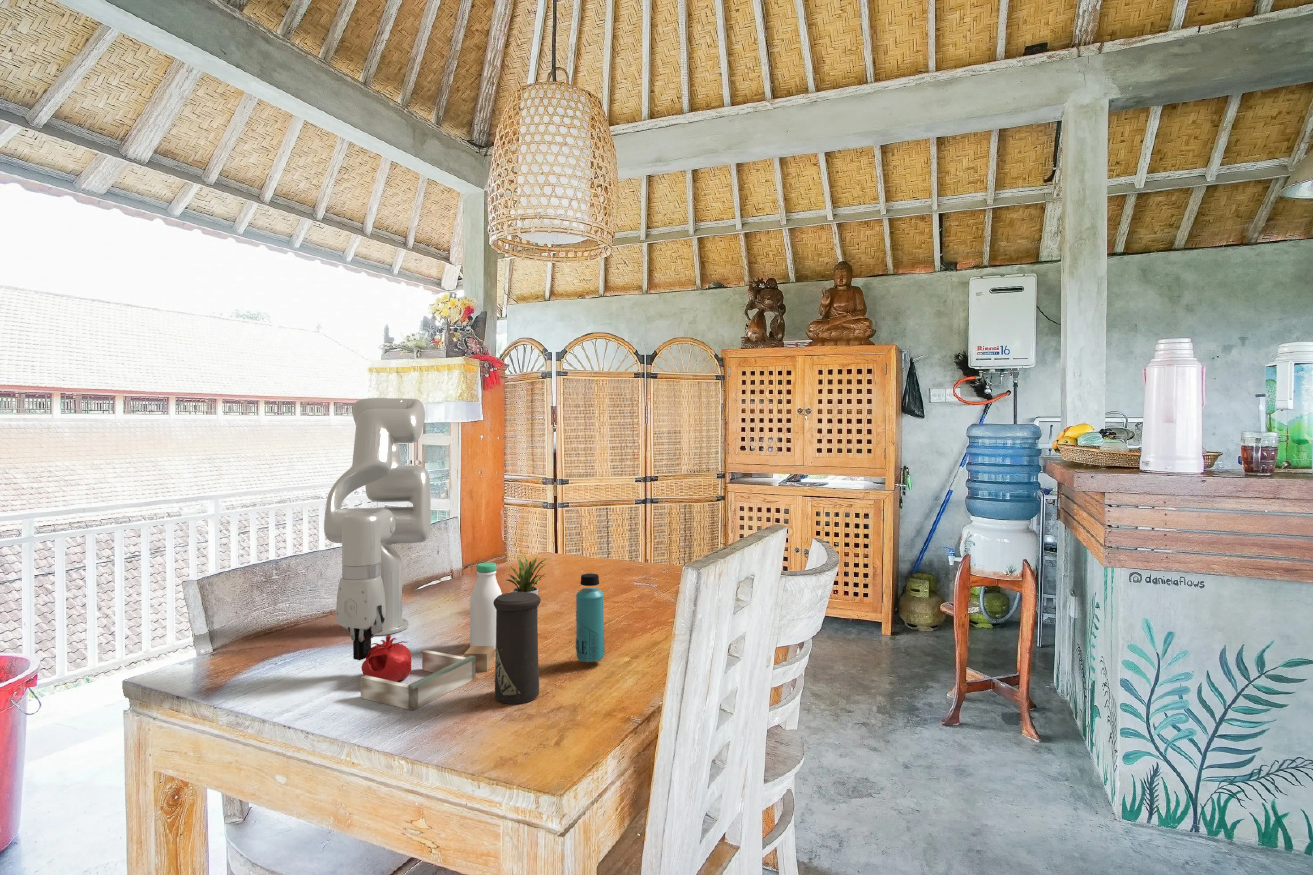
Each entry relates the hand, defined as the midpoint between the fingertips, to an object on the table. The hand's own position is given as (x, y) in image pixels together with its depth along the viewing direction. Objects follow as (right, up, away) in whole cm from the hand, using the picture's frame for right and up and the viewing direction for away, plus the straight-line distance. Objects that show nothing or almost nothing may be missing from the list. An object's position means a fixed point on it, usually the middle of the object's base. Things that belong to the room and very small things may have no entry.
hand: (362, 657), depth 139 cm
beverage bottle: (+48, -4, +7) cm, 48 cm away
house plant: (+26, -3, +49) cm, 55 cm away
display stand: (+15, -4, -7) cm, 17 cm away
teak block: (+24, -4, +5) cm, 24 cm away
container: (+35, -4, -11) cm, 37 cm away
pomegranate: (+6, -4, -2) cm, 8 cm away
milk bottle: (+22, -4, +18) cm, 28 cm away
